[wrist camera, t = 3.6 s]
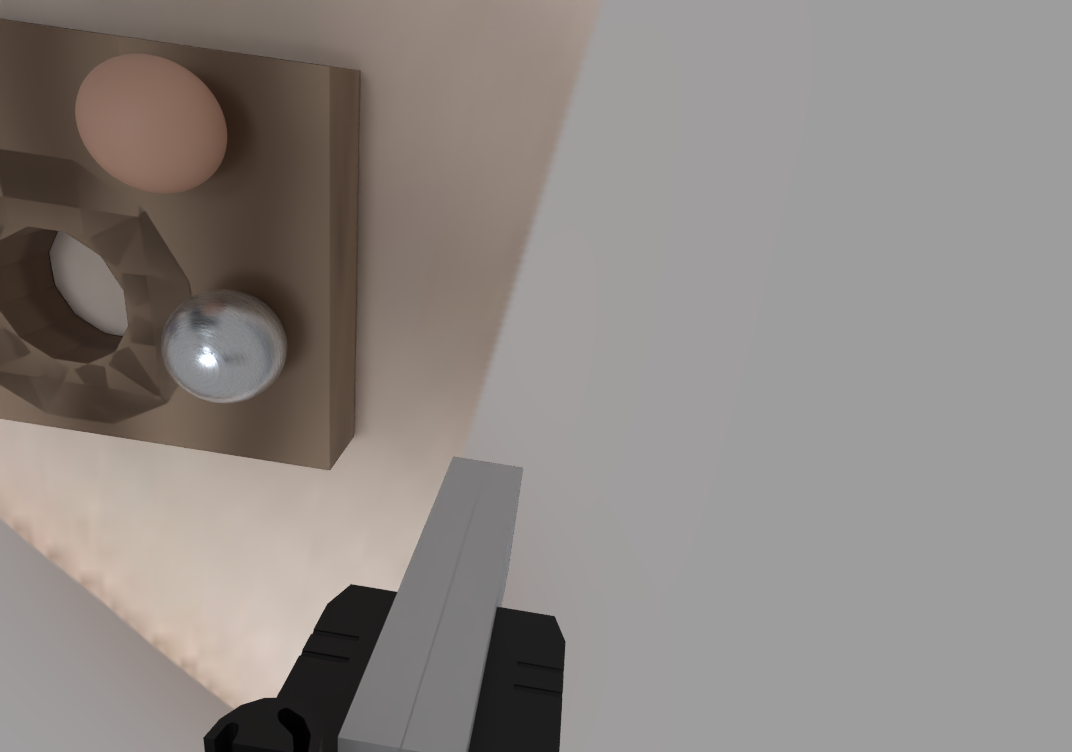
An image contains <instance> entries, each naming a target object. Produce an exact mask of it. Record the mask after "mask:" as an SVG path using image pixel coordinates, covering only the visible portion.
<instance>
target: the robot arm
mask: <svg viewBox="0 0 1072 752" xmlns="http://www.w3.org/2000/svg"><path fill="white" fill-rule="evenodd" d="M522 472H523V468H521V467H515V466H509V465H503V464H496V463H490V462H483V461H478V460H471V459H465V458H459V457H453V458H452V461H451V463H450V466H449V468H448V471H447V473H446V475H445V478H444V480H443V483H442V485H441V488H440V490H439V492H438V495H437V497H436V500H435V502H434V505H433V507H432V509H431V512H430V514H429V517H428V519H427V522H426V524H425V526H424V529H423V531H422V534H421V536H420V539H419V541H418V544H417V546H416V548H415V551H414V553H413V556H412V558H411V561H410V563H409V565H408V568H407V570H406V573H405V575H404V578H403V580H402V582H401V585H400V587H399V590H398V592H394V591H388V590H382V589H376V588H370V587H364V586H358V585H352V584H351V585H350V586H348V587H347V588H346V589H345V590H344V591H342V592H341V593H340V594H339V595H338V596H336V597H335V598H334V599H333V600H332V601H330V602H329V603H328V604H327V606H326V608H325V609H324V611H323V613H322V615H321V617H320V619H319V620H318V622H317V624H316V626H315V628H314V631H313V634H311V635H310V637H309V639H308V641H307V643H306V644H305V646H304V648H303V650H302V654H301V656H299V657H298V659H297V661H296V663H295V665H294V666H293V668H292V670H291V672H290V674H289V676H288V678H287V679H286V681H285V683H284V685H283V687H282V689H281V690H280V692H279V694H278V696H277V698H263V699H259V700H256V701H253V702H250V703H247V704H243V705H241V706H239V707H238V708H236V709H234V710H233V711H231V712H230V713H228V714H227V715H225V716H224V717H222V718H221V719H219V721H218V722H217V723H216V724H215V725H214V726H213V727H212V729H211V730H210V731H209V732H208V733H207V734H206V736H205V737H204V747H205V752H559V746H560V729H561V728H560V727H561V711H562V692H563V671H564V656H565V640H564V637H563V635H562V633H561V630H560V628H559V626H558V623H557V621H556V618H555V617H554V616H550V615H544V614H538V613H532V612H525V611H519V610H513V609H507V608H502V607H501V605H502V601H503V595H504V590H505V585H506V579H507V574H508V569H509V562H510V555H511V548H512V541H513V534H514V527H515V520H516V513H517V507H518V499H519V492H520V486H521V478H522Z"/></svg>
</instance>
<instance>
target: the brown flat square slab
mask: <svg viewBox="0 0 1072 752" xmlns="http://www.w3.org/2000/svg"><path fill="white" fill-rule="evenodd" d="M125 54H149V55H154V56H158V57H162V58H165V59H168V60H171V61H173V62H175V63H177V64H179V65H181V66H183V67H184V68H186V69H187V70H189V71H190V72H192V73H193V74H194V75H195V76H197V77H198V78H199V79H200V80H201V81H202V82H203V83H204V84H205V85H206V86H207V87H208V88H209V90H210V91H211V92H212V94H213V95H214V97H215V98H216V100H217V102H218V103H219V105H220V107H221V109H222V112H223V115H224V118H225V122H226V127H227V146H226V151H225V155H224V158H223V160H222V162H221V164H220V166H219V167H218V169H217V170H216V172H215V173H214V174H213V175H212V176H211V177H210V178H209V179H208V180H206V181H205V182H204V183H202V184H201V185H199V186H197V187H195V188H192V189H190V190H187V191H184V192H179V193H170V194H161V193H151V192H147V191H143V190H140V189H137V188H134V187H131V186H129V185H127V184H125V183H123V182H121V181H119V180H118V179H116V178H115V177H113V176H112V175H110V174H109V173H108V172H107V171H105V170H104V169H103V168H102V167H101V166H100V165H99V164H98V163H97V162H96V161H95V159H94V158H93V157H92V156H91V154H90V153H89V152H88V150H87V148H86V147H85V145H84V143H83V141H82V139H81V137H80V134H79V131H78V128H77V123H76V116H75V105H76V98H77V95H78V92H79V88H80V86H81V84H82V82H83V81H84V79H85V78H86V77H87V75H88V74H89V73H90V72H91V71H92V70H93V69H94V68H95V67H96V66H98V65H99V64H101V63H103V62H104V61H106V60H108V59H111V58H113V57H117V56H121V55H125ZM359 104H360V71H359V70H353V69H346V68H339V67H332V66H325V65H318V64H311V63H304V62H297V61H290V60H283V59H276V58H269V57H262V56H255V55H248V54H241V53H234V52H227V51H220V50H213V49H207V48H200V47H193V46H186V45H179V44H172V43H165V42H158V41H151V40H144V39H137V38H130V37H123V36H116V35H109V34H102V33H95V32H88V31H81V30H74V29H67V28H61V27H54V26H47V25H40V24H33V23H26V22H19V21H12V20H5V19H0V419H6V420H13V421H19V422H25V423H32V424H38V425H45V426H51V427H57V428H64V429H70V430H76V431H83V432H89V433H95V434H102V435H108V436H115V437H121V438H127V439H134V440H140V441H146V442H153V443H159V444H165V445H172V446H178V447H184V448H191V449H197V450H204V451H210V452H216V453H223V454H229V455H235V456H242V457H248V458H254V459H261V460H267V461H274V462H280V463H286V464H293V465H299V466H305V467H312V468H318V469H324V470H331V468H332V467H333V465H334V464H335V462H336V461H337V460H338V458H339V457H340V455H341V454H342V453H343V451H344V450H345V448H346V447H347V445H348V444H349V443H350V441H351V440H352V438H353V437H354V403H355V343H356V283H357V223H358V163H359ZM57 231H62V232H66V233H67V234H69V235H70V236H72V237H73V238H75V239H76V240H78V241H79V242H81V243H82V244H84V245H85V246H87V247H88V248H90V249H91V250H93V251H94V252H96V253H97V254H98V255H100V256H101V257H102V259H103V260H104V262H105V263H106V265H107V266H108V268H109V269H110V271H111V272H112V274H113V275H114V277H115V278H116V280H117V281H118V283H119V284H120V286H121V287H122V289H123V290H124V297H125V304H126V311H127V319H128V328H127V330H126V332H125V334H124V336H123V337H122V336H115V335H109V334H104V333H102V332H101V331H99V330H98V329H96V328H95V327H93V326H92V325H90V324H88V323H87V322H85V321H84V320H82V319H81V318H79V317H78V316H76V315H75V314H74V313H73V311H72V310H71V309H70V307H69V306H68V304H67V303H66V301H65V300H64V299H63V297H62V296H61V294H60V293H59V291H58V290H57V289H56V287H55V286H54V282H53V276H52V271H51V265H50V260H49V254H48V252H49V250H50V247H51V245H52V243H53V240H54V238H55V236H56V233H57ZM219 289H226V290H235V291H240V292H243V293H246V294H249V295H251V296H253V297H256V298H257V299H259V300H261V301H262V302H264V303H265V304H266V305H267V306H268V307H269V308H270V309H272V311H273V312H274V313H275V314H276V315H277V317H278V318H279V320H280V322H281V323H282V325H283V328H284V331H285V334H286V338H287V356H286V361H285V364H284V367H283V369H282V371H281V373H280V375H279V377H278V378H277V379H276V380H275V382H274V383H273V384H272V385H271V386H270V387H269V388H268V389H266V390H265V391H263V392H262V393H260V394H259V395H257V396H255V397H253V398H251V399H248V400H245V401H241V402H235V403H214V402H210V401H206V400H203V399H200V398H197V397H195V396H193V395H191V394H190V393H188V392H187V391H185V390H184V389H182V388H181V387H180V386H179V385H178V384H177V383H176V382H175V381H174V380H173V378H172V377H171V376H170V374H169V373H168V371H167V369H166V367H165V365H164V362H163V359H162V354H161V336H162V332H163V329H164V326H165V324H166V322H167V320H168V318H169V317H170V315H171V314H172V312H173V311H174V310H175V309H176V308H177V307H178V306H179V305H180V304H181V303H183V302H184V301H185V300H187V299H189V298H190V297H192V296H194V295H197V294H200V293H202V292H205V291H211V290H219Z"/></svg>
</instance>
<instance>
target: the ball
mask: <svg viewBox="0 0 1072 752" xmlns="http://www.w3.org/2000/svg"><path fill="white" fill-rule="evenodd" d="M161 354H162V359H163V362H164V365H165V367H166V369H167V371H168V373H169V374H170V376H171V377H172V378H173V380H174V381H175V382H176V383H177V384H178V385H179V386H180V387H181V388H182V389H184V390H185V391H187V392H188V393H190V394H191V395H193V396H195V397H197V398H200V399H203V400H206V401H210V402H214V403H235V402H241V401H245V400H248V399H251V398H253V397H255V396H257V395H259V394H260V393H262V392H263V391H265V390H266V389H268V388H269V387H270V386H271V385H272V384H273V383H274V382H275V380H276V379H277V378H278V377H279V375H280V373H281V371H282V369H283V367H284V364H285V361H286V356H287V338H286V334H285V331H284V328H283V325H282V323H281V322H280V320H279V318H278V317H277V315H276V314H275V313H274V312H273V311H272V309H270V308H269V307H268V306H267V305H266V304H265V303H264V302H262V301H261V300H259V299H257V298H256V297H253V296H251V295H249V294H246V293H243V292H240V291H235V290H226V289H219V290H211V291H205V292H202V293H200V294H197V295H194V296H192V297H190V298H189V299H187V300H185V301H184V302H183V303H181V304H180V305H179V306H178V307H177V308H176V309H175V310H174V311H173V312H172V314H171V315H170V317H169V318H168V320H167V322H166V324H165V326H164V329H163V332H162V336H161Z"/></svg>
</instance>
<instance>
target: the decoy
mask: <svg viewBox="0 0 1072 752" xmlns="http://www.w3.org/2000/svg"><path fill="white" fill-rule="evenodd" d="M75 116H76V123H77V128H78V131H79V134H80V137H81V139H82V141H83V143H84V145H85V147H86V148H87V150H88V152H89V153H90V154H91V156H92V157H93V158H94V159H95V161H96V162H97V163H98V164H99V165H100V166H101V167H102V168H103V169H104V170H105V171H107V172H108V173H109V174H110V175H112V176H113V177H115V178H116V179H118V180H119V181H121V182H123V183H125V184H127V185H129V186H131V187H134V188H137V189H140V190H143V191H147V192H151V193H161V194H170V193H179V192H184V191H187V190H190V189H192V188H195V187H197V186H199V185H201V184H202V183H204V182H205V181H206V180H208V179H209V178H210V177H211V176H212V175H213V174H214V173H215V172H216V170H217V169H218V167H219V166H220V164H221V162H222V160H223V158H224V155H225V151H226V146H227V127H226V122H225V118H224V115H223V112H222V109H221V107H220V105H219V103H218V102H217V100H216V98H215V97H214V95H213V94H212V92H211V91H210V90H209V88H208V87H207V86H206V85H205V84H204V83H203V82H202V81H201V80H200V79H199V78H198V77H197V76H195V75H194V74H193V73H192V72H190V71H189V70H187V69H186V68H184V67H183V66H181V65H179V64H177V63H175V62H173V61H171V60H168V59H165V58H162V57H158V56H154V55H149V54H125V55H121V56H117V57H113V58H111V59H108V60H106V61H104V62H103V63H101V64H99V65H98V66H96V67H95V68H94V69H93V70H92V71H91V72H90V73H89V74H88V75H87V77H86V78H85V79H84V81H83V82H82V84H81V86H80V88H79V92H78V95H77V98H76V105H75Z"/></svg>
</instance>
